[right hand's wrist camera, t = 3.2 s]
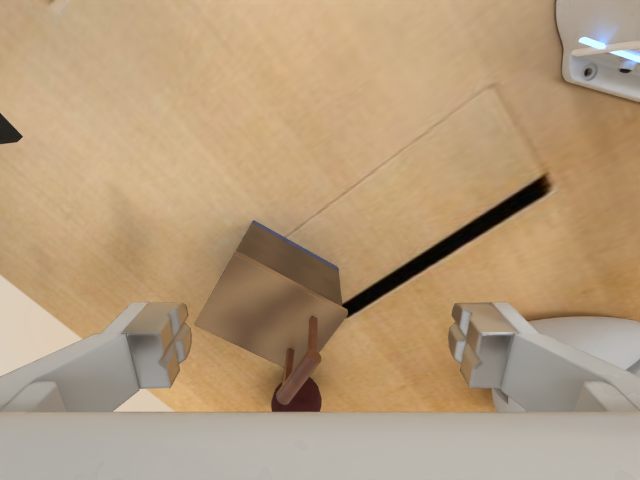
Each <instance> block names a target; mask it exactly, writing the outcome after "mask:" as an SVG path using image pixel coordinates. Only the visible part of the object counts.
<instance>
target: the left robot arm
mask: <svg viewBox="0 0 640 480" xmlns="http://www.w3.org/2000/svg"><path fill="white" fill-rule="evenodd" d="M22 137H23V136H22V135H21V134H20V133H19V132H18V131H17V130H16V129H15V128H14V127H13V126H12V125H11V124H10V123H9V122H8V121H7V120H6V119H5V118H4V117H3V115H2V114H1V113H0V144H5V143H14V142H18V141H19V140H20V139H21V138H22Z"/></svg>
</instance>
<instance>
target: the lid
mask: <svg viewBox="0 0 640 480" xmlns="http://www.w3.org/2000/svg"><path fill="white" fill-rule="evenodd" d="M347 315H348V310H347V309H345V308H343V307H342V306H340V305H338V304H336V303H334V302H332V301H330V300H328V299H327V298H325V297H323V296H321V295H319V294H317V293H315V292H313V291H312V290H310V289H308V288H306V287H304V286H302V285H300V284H298V283H297V282H295V281H293V280H291V279H289V278H287V277H285V276H283V275H282V274H280V273H278V272H276V271H274V270H272V269H270V268H268V267H267V266H265V265H263V264H261V263H259V262H257V261H255V260H253V259H252V258H250V257H248V256H246V255H244V254H242V253H240V252H238V251H235V253H234V255H233V257H232V258H231V260H230V262H229V264H228V265H227V267H226V269H225V271H224V272H223V274H222V276H221V278H220V279H219V281H218V283H217V285H216V287H215V288H214V290H213V292H212V294H211V295H210V297H209V299H208V301H207V302H206V304H205V306H204V308H203V310H202V311H201V313H200V315H199V317H198V318H197V320H196V322H195V324H194V325H195V326H197V327H200V328H202V329H204V330H206V331H208V332H210V333H212V334H214V335H216V336H219V337H221V338H223V339H225V340H227V341H229V342H231V343H233V344H235V345H237V346H240V347H242V348H244V349H246V350H248V351H250V352H252V353H254V354H256V355H259V356H261V357H263V358H265V359H267V360H269V361H271V362H273V363H275V364H278V365H280V366H282V367H284V374H283V382H282V387H281V388H280V389H279V391H278V392H277V394H276V398H277V400H278V401H279V402H280V403H281V404H283V405H287V404H289V402H290V401H291V400H292V398H293V397H294V396H295V394H296V393H297V392H298V391H299V389H300V388H301V387H302V385H303V384H304V383H305V381H306V380H307V379H308V377H309V376H310V375H311V374H312V372H313V371H314V370H315V368H316V367H317V366H318V364H319V363H320V362H321V356H320V354H319V352H320V351H321V349H322V348H323V347H324V345H325V344H326V343H327V341H328V340H329V339H330V338H331V336H332V335H333V334H334V332H335V331H336V330H337V328H338V327H339V326H340V324H341V323H342V322H343V320H344V319H345V318H346V316H347Z"/></svg>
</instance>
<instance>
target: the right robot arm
mask: <svg viewBox="0 0 640 480" xmlns="http://www.w3.org/2000/svg"><path fill="white" fill-rule="evenodd" d="M556 20H557V26H558V31H559V34H560V37H561V40H562V44H563V50H564V52H563V61H562V75H563V78H564V80H565V81H567V82H569V83H573V84H576V85H580V86H583V87H587V88H590V89H594V90H597V91H601V92H604V93H608V94H611V95H615V96H619V97H622V98H626V99H629V100H633V101H636V102H640V0H556ZM586 69H587V75H586V76H585V75H584V71H585V70H586ZM187 317H188V311H187V306H186V305H185V304H184V303H166V302H151V303H150V302H134V303H130V304H129V306H128V307H127V308H126V309H125V310H124V311H123V312H122V313H121V314H120V315H119V316H118V317H117V318H116V319H115V320H114V321H113V322H112V323H111V324H110V325H109V326H108V327H107V328H106V329H105V330H104V331H103V332H102V333H101V334H94V335H91V336H89V337H87V338H85V339H83V340H80V341H78V342H76V343H74V344H71V345H69V346H67V347H65V348H63V349H60V350H58V351H56V352H54V353H52V354H49V355H47V356H45V357H43V358H40V359H38V360H36V361H34V362H32V363H29V364H27V365H25V366H23V367H21V368H18V369H16V370H14V371H12V372H9V373H7V374H5V375H3V376H1V377H0V480H640V377H639V376H637V375H635V374H633V373H630V372H628V371H626V370H624V369H621V368H619V367H617V366H615V365H613V364H610V363H608V362H606V361H604V360H602V359H599V358H597V357H595V356H593V355H591V354H588V353H586V352H584V351H582V350H580V349H577V348H575V347H573V346H571V345H568V344H566V343H564V342H562V341H560V340H557V339H555V338H553V337H551V336H549V335H546V334H539V333H538V332H537V331H536V330H535V329H534V328H533V327H532V326H531V325H530V324H529V323H528V322H527V321H526V320H525V319H524V318H523V317H522V316H521V315H520V314H519V313H518V312H517V311H516V310H515V308H514V307H513V306H512V305H511V304H510V303H507V302H489V303H455V305H454V307H453V310H452V317H453V318H454V320H455V323H454V324H453V325H452V326H451V327H450V328H449V336H448V340H449V348H450V351H451V354H452V356H453V358H454V359H455V360H456V361H458V362H459V363H461V368H460V371H461V373H462V375H463V377H464V378H465V380H466V382H467V384H468V386H469V388H494V389H501V391H502V392H504V393H505V394H506V395H507V396H509V397H510V398H511V399H512V400H514V401H515V402H516V403H517V404H519V405H520V406H521V407H522V408H524V409H525V410H526V411H527V412H113V411H114V410H115V409H116V408H118V407H119V406H120V405H121V404H123V403H124V402H125V401H127V400H128V399H129V398H130V397H132V396H133V395H134V394H135V393H137V392H138V391H139V389H146V388H171V386H172V384H173V382H174V380H175V378H176V377H177V375H178V373H179V371H180V368H179V363H181V362H182V361H184V360H185V359H186V358H187V356H188V354H189V351H190V347H191V339H192V335H191V328H190V327H189V326H188V325H187V324H186V323H185V320H186V318H187Z"/></svg>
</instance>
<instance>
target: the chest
mask: <svg viewBox="0 0 640 480" xmlns="http://www.w3.org/2000/svg"><path fill="white" fill-rule="evenodd" d="M236 251H238V252H240V253H242V254H244V255H246V256H248V257H250V258H252V259H253V260H255V261H257V262H259V263H261V264H263V265H265V266H267V267H268V268H270V269H272V270H274V271H276V272H278V273H280V274H282V275H283V276H285V277H287V278H289V279H291V280H293V281H295V282H297V283H298V284H300V285H302V286H304V287H306V288H308V289H310V290H312V291H313V292H315V293H317V294H319V295H321V296H323V297H325V298H327V299H328V300H330V301H332V302H334V303H336V304H338V305H340V306H342V300H341V291H340V281H339V272H338V271H339V270H338V267H336V266H335V265H333V264H331V263H329V262H328V261H326V260H324V259H322V258H320V257H319V256H317V255H315V254H313V253H311V252H310V251H308V250H306V249H304V248H302V247H301V246H299V245H297V244H295V243H293V242H292V241H290V240H288V239H286V238H284V237H283V236H281V235H279V234H277V233H276V232H274V231H272V230H270V229H268V228H267V227H265V226H263V225H261V224H259V223H258V222H256V221H253V222H252V224H251V226H250V228H249V229H248V231H247V233H246V234H245V236H244V238H243V239H242V241H241V243H240V245H239V246H238V248H237V250H236Z"/></svg>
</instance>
